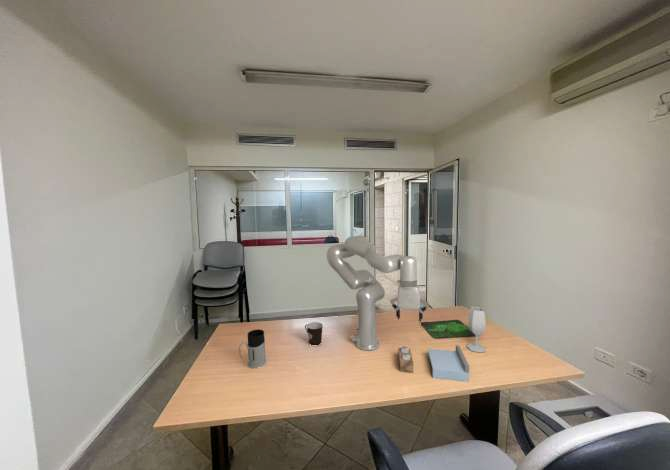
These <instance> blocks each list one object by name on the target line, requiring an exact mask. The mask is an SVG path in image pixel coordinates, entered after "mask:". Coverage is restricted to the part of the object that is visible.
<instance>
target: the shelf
mask: <svg viewBox="0 0 670 470" xmlns="http://www.w3.org/2000/svg"><path fill="white" fill-rule="evenodd" d="M427 358H428V359H429V361H430V364H431V369H432V370H431V371H432V378H433V379H435V380H436V379H439V380H446V381H447V380H448V381H456V382H465V383H469V382H470V381H469V380H470V365H469V363H468V361H467V359H466V357H465V354H464V353H463V350H462V348H461V347H460V345H459V344H456V345H455V350H450V349H448V350H447V349H435V348H428V349H427Z"/></svg>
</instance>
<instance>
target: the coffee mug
mask: <svg viewBox="0 0 670 470" xmlns="http://www.w3.org/2000/svg"><path fill="white" fill-rule="evenodd" d="M323 326H324V324H323V323H321V322H318V321H317V322H316V321H313V322H309V323H307V324H305V325H304V328H305V331H306V333H307V335H308V336H307V337H308V342H309V343H310V344H311V345H318V346H320V345H321V344H322V337H323ZM309 343H308V344H309ZM320 343H321V344H320ZM310 344H309V345H310ZM319 344H320V345H319ZM311 345H310V346H311Z"/></svg>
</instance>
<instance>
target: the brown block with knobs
mask: <svg viewBox="0 0 670 470" xmlns="http://www.w3.org/2000/svg"><path fill="white" fill-rule="evenodd" d="M397 357H398V363H399V369H400V373H404V374H405V373H407V374H414V360H413V354H412V350H411V348H410V347H407V346H402V347H398V356H397Z"/></svg>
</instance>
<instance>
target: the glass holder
mask: <svg viewBox="0 0 670 470" xmlns="http://www.w3.org/2000/svg"><path fill="white" fill-rule="evenodd" d="M265 337H266V336H265V331H264V330H263V329H252V330H250V331H249V332H247V341H243V342H241V343H240V344H239V347H238V353H239V356H240V358H241V359H242V360H244V361H246V362H247V367H248V366H249V367H248V368H250V367H251V368H250V369H254V368H255V369H259V368H258V367H260V368H262V367H264V366H265V365H266V364H267V363H266V360H267V359H266V340H265ZM243 344H245V346H246V349H247V356H248V359H246V358H245V357H243V355H242V353H241V347H242V345H243ZM265 363H266V364H265ZM264 364H265V365H264ZM263 365H264V366H263ZM261 366H262V367H261Z"/></svg>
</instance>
